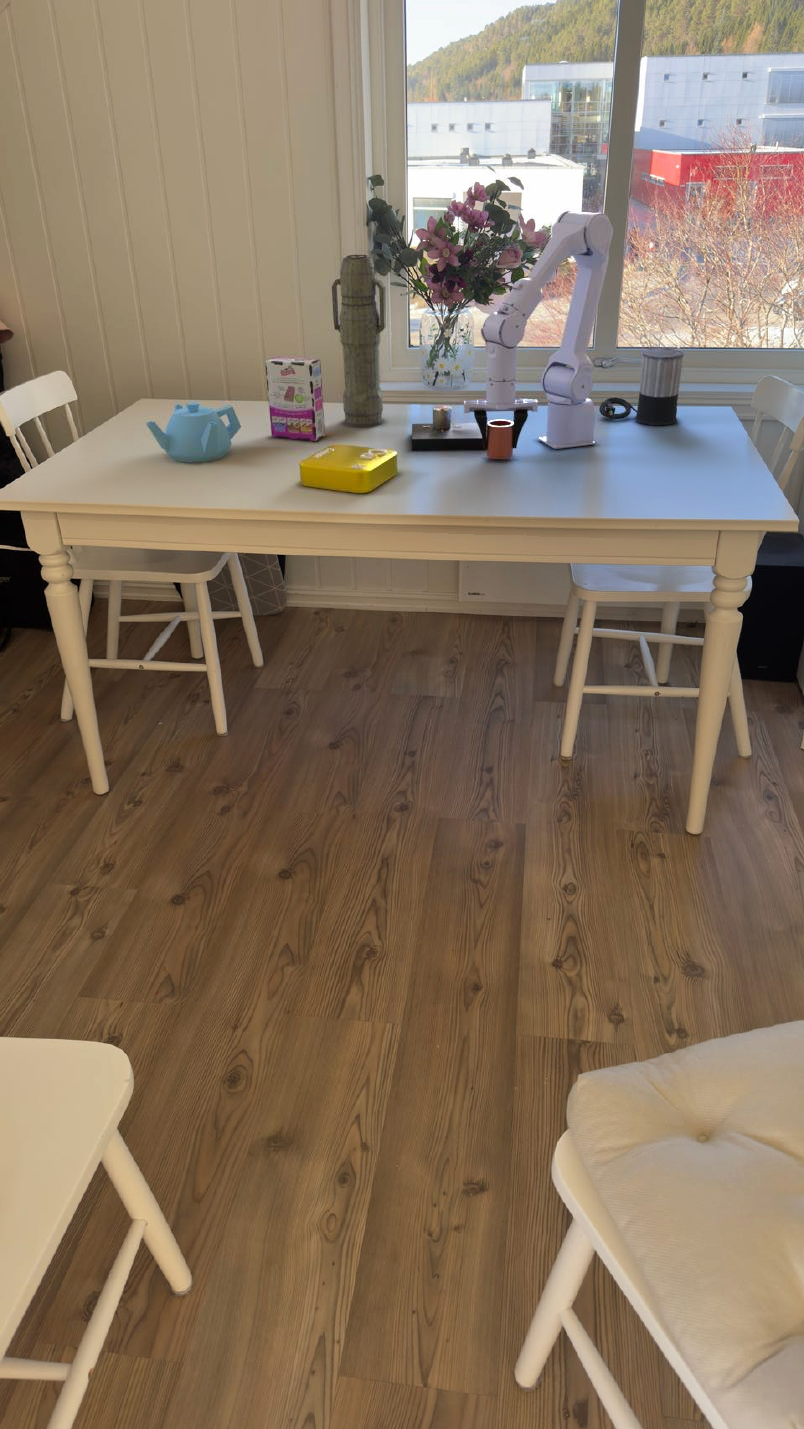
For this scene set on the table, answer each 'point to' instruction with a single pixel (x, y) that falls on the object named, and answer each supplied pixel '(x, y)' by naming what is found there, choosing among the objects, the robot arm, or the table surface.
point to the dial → (441, 417)
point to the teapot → (197, 433)
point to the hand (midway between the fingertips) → (499, 447)
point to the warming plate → (447, 437)
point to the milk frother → (653, 389)
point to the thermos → (360, 339)
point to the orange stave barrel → (500, 439)
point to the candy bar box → (295, 398)
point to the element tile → (348, 468)
